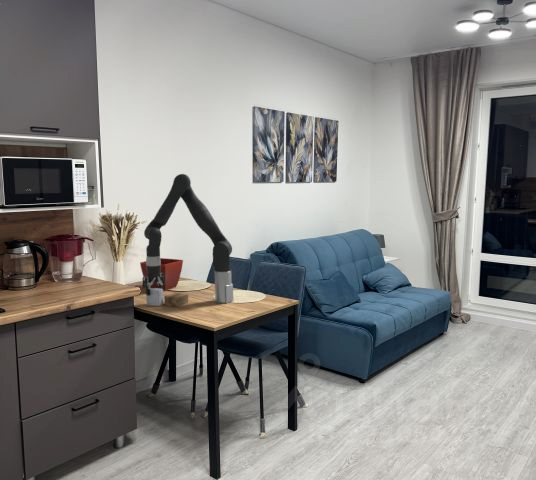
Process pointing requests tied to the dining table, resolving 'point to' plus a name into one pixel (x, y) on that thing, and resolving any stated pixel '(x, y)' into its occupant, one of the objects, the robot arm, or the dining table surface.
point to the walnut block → (176, 299)
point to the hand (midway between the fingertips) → (154, 293)
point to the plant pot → (166, 272)
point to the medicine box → (155, 297)
